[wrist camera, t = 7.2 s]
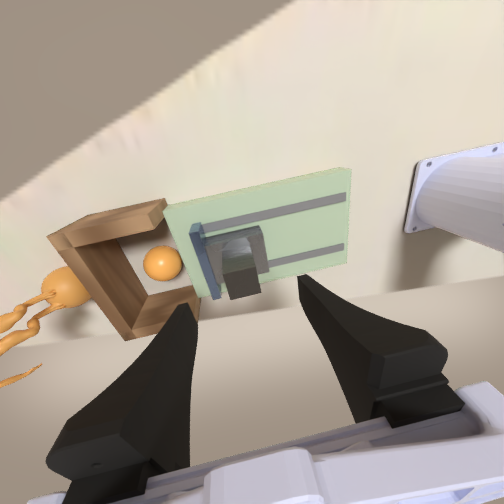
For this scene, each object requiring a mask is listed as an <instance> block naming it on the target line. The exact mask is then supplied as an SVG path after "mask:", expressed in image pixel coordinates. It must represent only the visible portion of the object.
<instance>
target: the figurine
mask: <svg viewBox="0 0 504 504" xmlns="http://www.w3.org/2000/svg"><path fill="white" fill-rule="evenodd" d="M41 292H42V294H40V295H38V296H36V297H34V298H32V299H30V300H28V301H26V302H25V303H23V304H20V305H18V306H16V307H15V308H14V312H11V313H7V314H4V315H1V316H0V333H3V332H5V331H7V330H9V329H10V328H12V327H13V325H14V324H15V323H16V322H17V321H19V320H20V319H21V318H22V317H23V316H24V315H25V313H26V312H27V307H29V306H31V305H33V304H35V303H37V302H40V301H42V300H44V299H45V300H46V301H47V302H48V303H50V304H51V306H49V307H48V308H46V309H44V310H43V311H41V312H39V313H38V314H36V315H34V316H33V317H32V318H31V319H30V320H29V321H28V322H27V327H28V328H29V329H26V330H17V331H13V332H11V333H9V334H8V335H6V336H5V337H3V338H2V339H0V356H1V355H2V354H4V353H5V352H6V351H8V350H9V349H10V348H12V347H13V346H15V345H17V344H19V343H21V342H23V341H25V340H27V339H28V338H30V337H33V336H35V335H36V334H38V332H39V329H40V325H39V324H40V323H39V320H38V319H40V318H41V317H43V316H45V315H47V314H49V313H51V312H53V311H55V310H58V309H62V308H72V307H76V306H79V305H82V304H84V303H85V302H87V301H88V300H89V299H91V295H90V294H89V293H88V291H87V290H86V289H85V287H84V286H83V285H82V283H81V282H80V281H79V279H78V278H77V277H76V275H75V274H74V273H73V271H72V270H71V269H70V267H69V266H66V267H62V268H59V269H57V270H55V271H53V272H51V273H50V274H49V275H48V276H47V277H46V278H45V279H44V281H43V283H42V287H41ZM41 365H42V364H40V365H39V366H37V367H34V368H32V369H31V370H29V371H28V372H26V373H24V374H20V375H16V376H13V377H10V378H8V379H5V380H3V381H1V382H0V388H1V387H3V386H6V385H9V384H11V383H14V382H16V381H18V380H19V379H22V378H24V377H26V376H27V375H29V374H31V373H32V372H33V371H34V370H36V369H37V368H39V367H40V366H41Z"/></svg>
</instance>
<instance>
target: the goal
mask: <svg viewBox="0 0 504 504" xmlns="http://www.w3.org/2000/svg"><path fill="white" fill-rule="evenodd" d="M167 206H168V205H167V203H166V200H165V198H163V199H159V200H154V201H149V202H145V203H140V204H136V205H131V206H127V207H122V208H118V209H113V210H109V211H104V212H100V213H95V214H91V215H87V216H85V217H83V218H81V219H79V220H77V221H75V222H73V223H71V224H70V225H68V226H66V227H64V228H62V229H60V230H58V231H56V232H54V233H52V234H50V235H48V236H46V237H47V238H48V240H49V241H50V242H51V244H52V245H53V246H54V248H55V249H56V250H57V251H58V253H59V254H60V255H61V257H62V258H63V259H64V261H65V262H66V263H67V265H68V266H69V267H70V269H71V270H72V271H73V273H74V274H75V275H76V277H77V278H78V279H79V281H80V282H81V283H82V285H83V286H84V287H85V289H86V290H87V291H88V293H89V294H90V295H91V297H92V298H93V299H94V301H95V302H96V303H97V305H98V306H99V307H100V309H101V310H102V311H103V313H104V314H105V315H106V317H107V318H108V319H109V321H110V322H111V323H112V325H113V326H114V327H115V329H116V330H117V331H118V333H119V334H120V335H121V337H122V338H123V339H124V340H125V341H128V340H132V339H136V338H140V337H145V336H149V335H153V334H157V333H159V331H160V330H161V328H162V327H163V326H164V324H165V323H166V321H167V320H168V319H169V317H170V316H171V314H172V313H173V311H174V310H175V308H176V307H177V306H178V304H183V303H187V302H188V304H189V306H190V308H191V311H192V313H193V315H194V317H195V319H196V322H197V324H198V317H199V309H200V302H201V298H198V296H197V294H196V291H195V289H194V287H193V285H192V286H187V287H183V288H179V289H175V290H170V291H166V292H162V293H158V294H153V295H149V296H148V295H147V293H146V291H145V289H144V288H143V286H142V284H141V282H140V281H139V279H138V277H137V275H136V274H135V272H134V270H133V268H132V267H131V265H130V263H129V261H128V260H127V258H126V256H125V254H124V253H123V251H122V249H121V247H120V246H119V244H118V242H117V240H116V239H115V238H118V237H123V236H127V235H132V234H136V233H141V232H145V231H150V230H154V229H155V228H156V227H157V226H158V224H159V223H160V222H161V221H162V219H163V218H164V215H163V212H162V211H163V210H164V209H165V208H166V207H167Z"/></svg>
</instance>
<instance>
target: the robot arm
mask: <svg viewBox="0 0 504 504" xmlns="http://www.w3.org/2000/svg"><path fill="white" fill-rule="evenodd" d="M427 163H428V165H427ZM434 227H437V228H440V229H442V230H445V231H448V232H450V233H453V234H455V235H458V236H461V237H463V238H466V239H469V240H471V241H474V242H477V243H479V244H482V245H485V246H487V247H490V248H492V249H495V250H498V251H500V252H503V253H504V142H500V143H496V144H491V145H487V146H483V147H478V148H474V149H469V150H465V151H460V152H456V153H451V154H447V155H442V156H438V157H433V158H429V159H424V160H421V161H420V162H419V163H418V164H417V167H416V172H415V178H414V183H413V188H412V193H411V198H410V203H409V208H408V213H407V219H406V224H405V229H404V231H405V232H406V233H413V232H417V231H422V230H426V229H430V228H434ZM297 279H298V289H299V300H300V302H301V305H302V307H303V310H304V312H305V314H306V316H307V318H308V320H309V322H310V323H311V325H312V327H313V329H314V330H315V332H316V334H317V335H318V337H319V339H320V341H321V343H322V345H323V347H324V349H325V351H326V353H327V355H328V357H329V360H330V362H331V364H332V366H333V369H334V371H335V373H336V376H337V378H338V380H339V383H340V385H341V387H342V390H343V392H344V395H345V397H346V400H347V402H348V405H349V407H350V410H351V412H352V415H353V417H354V420H355V423H356V424H353V425H349V426H345V427H341V428H337V429H334V430H330V431H326V432H322V433H318V434H314V435H311V436H307V437H303V438H299V439H296V440H292V441H288V442H284V443H280V444H276V445H272V446H269V447H265V448H261V449H257V450H253V451H249V452H246V453H242V454H238V455H235V456H230V457H226V458H223V459H219V460H215V461H211V462H207V463H203V464H200V465H196V466H192V467H190V442H189V441H190V400H191V383H192V374H193V367H194V361H195V354H196V347H197V339H198V324H197V322H196V319H195V317H194V315H193V313H192V311H191V308H190V306H189V304H188V302H187V303H183V304H178V306H177V307H176V308H175V310H174V311H173V313H172V314H171V316H170V317H169V319H168V320H167V321H166V323H165V324H164V326H163V327H162V328H161V330H160V331H159V333H158V334H157V335H156V336H155V338H154V339H153V340H152V342H151V343H150V344H149V345H148V347H147V348H146V349H145V350H144V351H143V352H142V354H141V355H140V356H139V357H138V358H137V359H136V360H135V361H134V362H133V364H132V365H130V366H129V367H128V368H127V369H126V371H124V372H123V373H122V374H121V375H120V377H119V378H117V379H116V380H115V381H114V382H113V383H112V384H111V385H110V386H109V387H107V388H106V389H105V390H104V391H103V392H102V393H101V394H99V395H98V396H97V397H96V398H95V399H94V400H92V401H91V402H90V403H89V404H87V405H86V406H85V407H84V408H82V409H81V410H80V411H78V412H77V413H76V414H75V415H74V416H72V417H71V418H70V419H68V420H67V422H66V424H65V425H64V427H63V429H62V430H61V432H60V434H59V436H58V438H57V439H56V441H55V443H54V445H53V447H52V448H51V450H50V452H49V454H48V456H47V457H46V464H47V466H48V468H50V469H51V470H52V471H54V472H56V473H58V474H60V475H62V476H64V477H66V478H68V479H70V480H71V481H72V482H71V484H70V487H69V489H68V491H67V492H64V491H63V492H62V491H61V492H54V493H51V494H47V495H43V496H39V497H35V498H32V499H30V500H29V501H28V502H27V504H482V503H485V502H488V501H491V500H494V499H497V498H501V497H504V396H503V395H502V394H501V393H500V392H499V391H498V390H496V389H495V388H494V387H493V386H492V385H491V384H490V383H488V382H486V381H482V382H478V383H474V384H470V385H466V386H463V387H460V388H458V389H456V390H455V391H453V390H452V389H451V388H450V387H449V386H448V385H447V384H448V383H449V381H448V379H447V378H446V377H445V376H444V375H443V374H442V373H441V371H442V369H443V367H444V365H445V363H446V361H447V357H448V352H447V349H446V348H445V347H444V346H443V345H442V344H440V343H439V342H438V341H437V340H436V339H435V338H434V337H433V336H432V335H430V334H429V333H428V332H427V331H425V330H422V329H419V328H415V327H411V326H408V325H404V324H401V323H398V322H395V321H392V320H389V319H386V318H383V317H380V316H378V315H375V314H373V313H371V312H368V311H366V310H363V309H361V308H359V307H357V306H355V305H353V304H351V303H349V302H347V301H346V300H344V299H342V298H340V297H339V296H337V295H335V294H334V293H332V292H331V291H329V290H328V289H326V288H325V287H323V286H322V285H321V284H319V283H318V282H316V281H315V280H314V279H312V278H311V277H310V276H308V275H307V274H305V275H301V276H297Z"/></svg>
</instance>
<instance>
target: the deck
mask: <svg viewBox="0 0 504 504" xmlns="http://www.w3.org/2000/svg"><path fill="white" fill-rule="evenodd" d="M350 188H351V169H347V168H341V167H339V168H334V169H329V170H325V171H320V172H316V173H311V174H307V175H302V176H298V177H293V178H289V179H284V180H280V181H275V182H271V183H266V184H262V185H257V186H253V187H248V188H244V189H239V190H235V191H230V192H226V193H221V194H217V195H212V196H208V197H203V198H199V199H194V200H190V201H185V202H181V203H176V204H172V205H168V206H167V207H166V208H165V209H164V210H163V211H162V212H163V215H164V217H165V219H166V222H167V224H168V227H169V229H170V231H171V234H172V236H173V239H174V241H175V243H176V246H177V248H178V251H179V253H180V255H181V258H182V260H183V263H184V265H185V267H186V270H187V272H188V275H189V277H190V279H191V282H192V284H193V287H194V289H195V291H196V294H197V296H198V298H202V297H206V296H210V295H211V293H210V290H209V288H208V285H207V282H206V279H205V277H204V274H203V271H202V269H201V266H200V263H199V261H198V258H197V255H196V253H195V250H194V247H193V244H192V242H191V239H190V236H189V234H188V233H189V231H190V228H191V225H192V224H194V223H198V222H201V224H202V227H203V230H204V233H205V236H206V237H209V236H213V235H217V234H222V233H226V232H231V231H235V230H239V229H244V228H248V227H253V226H257V225H259V226H260V228H261V230H262V232H263V236H264V242H265V248H266V253H267V259H268V265H269V270H270V272H268V273H264V274H259V275H258V279H259V284H261V283H265V282H269V281H273V280H278V279H282V278H286V277H290V276H294V275H299V274H303V273H307V272H311V271H315V270H320V269H324V268H328V267H332V266H337V265H341V264H345V263H347V249H348V229H349V208H350ZM223 292H227V288H226V284H225V283H221V293H223Z"/></svg>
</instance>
